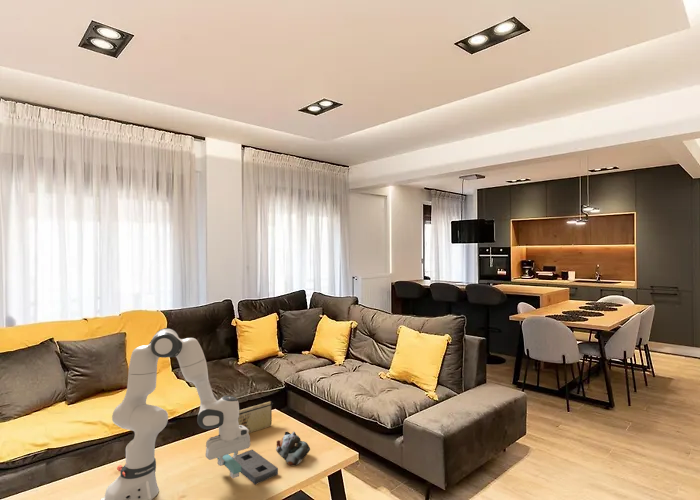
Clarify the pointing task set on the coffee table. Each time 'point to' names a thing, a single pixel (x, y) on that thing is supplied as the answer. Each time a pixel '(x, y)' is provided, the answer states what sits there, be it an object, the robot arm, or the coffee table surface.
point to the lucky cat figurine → (292, 448)
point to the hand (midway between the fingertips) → (228, 462)
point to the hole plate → (256, 467)
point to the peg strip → (231, 465)
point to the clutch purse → (256, 416)
